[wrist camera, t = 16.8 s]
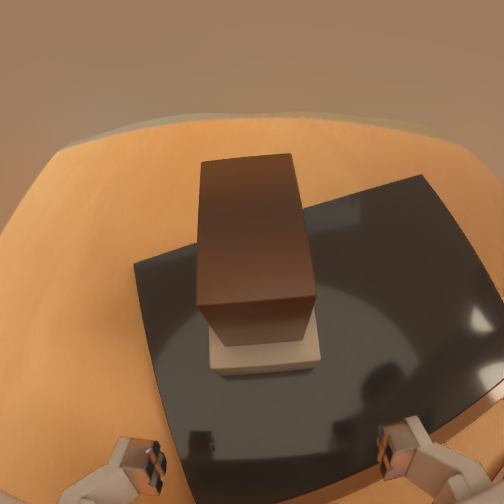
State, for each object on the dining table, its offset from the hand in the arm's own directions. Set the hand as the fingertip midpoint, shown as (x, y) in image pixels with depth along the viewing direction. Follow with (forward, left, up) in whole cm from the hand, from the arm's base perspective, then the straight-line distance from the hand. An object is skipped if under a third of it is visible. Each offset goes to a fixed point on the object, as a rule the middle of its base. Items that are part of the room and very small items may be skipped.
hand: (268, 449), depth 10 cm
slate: (-6, -4, -5) cm, 9 cm away
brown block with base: (-2, -7, -5) cm, 9 cm away
